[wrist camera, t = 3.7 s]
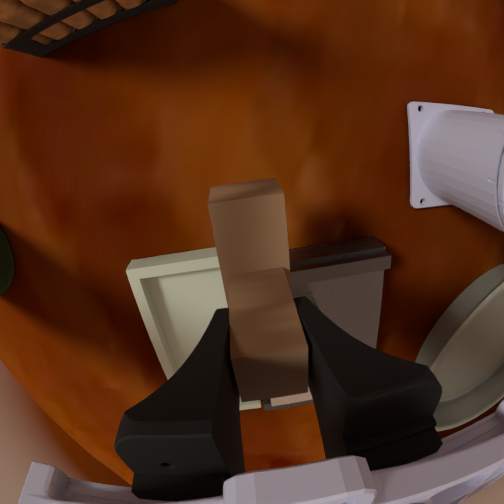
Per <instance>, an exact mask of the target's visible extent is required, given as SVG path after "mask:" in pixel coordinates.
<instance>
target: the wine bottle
mask: <svg viewBox="0 0 504 504" xmlns="http://www.w3.org/2000/svg"><path fill="white" fill-rule="evenodd" d="M13 277H14V259H13V254H12V250H11V247H10V245H9V242H8V240H7V238H6V236H5V234H4V233H3V231H2V230H1V228H0V296H1V295H2V294H3V293H4V292H5V291H6V290H7V289H8V288H9V287H10V285H11V282H12V280H13Z"/></svg>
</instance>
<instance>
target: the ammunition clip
mask: <svg viewBox="0 0 504 504" xmlns="http://www.w3.org/2000/svg"><path fill="white" fill-rule="evenodd" d="M177 2H178V0H0V42H3V44H2V47H3V48H6V49H11V50H15V51H19V52H23V53H27V54H31V55H34V56H38V57H43V56H44V55H46V54H48V53H50V52H52V51H54V50H56V49H57V48H59V47H61V46H63V45H65V44H67V43H69V42H71V41H73V40H76V39H78V38H80V37H82V36H84V35H86V34H89V33H91V32H93V31H96V30H98V29H100V28H103V27H105V26H108V25H110V24H113V23H115V22H118V21H121V20H123V19H126V18H129V17H132V16H135V15H138V14H141V13H144V12H147V11H150V10H153V9H156V8H160V7H163V6H167V5H170V4H174V3H177ZM5 43H6V44H5Z"/></svg>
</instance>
